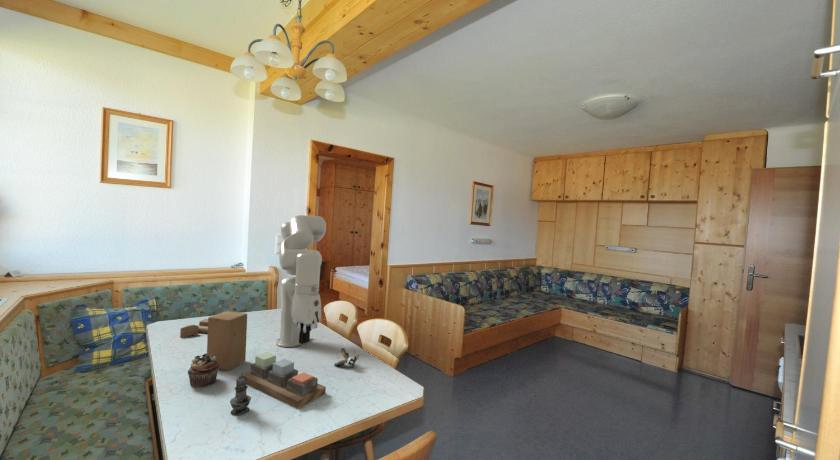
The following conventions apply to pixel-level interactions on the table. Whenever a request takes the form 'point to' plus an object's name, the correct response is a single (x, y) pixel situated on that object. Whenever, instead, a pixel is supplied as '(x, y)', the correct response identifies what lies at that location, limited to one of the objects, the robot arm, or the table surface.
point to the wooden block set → (194, 329)
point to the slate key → (283, 367)
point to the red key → (302, 378)
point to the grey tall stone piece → (240, 397)
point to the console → (284, 386)
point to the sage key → (265, 360)
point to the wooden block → (227, 338)
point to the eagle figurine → (346, 359)
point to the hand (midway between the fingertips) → (304, 342)
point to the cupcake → (203, 371)
